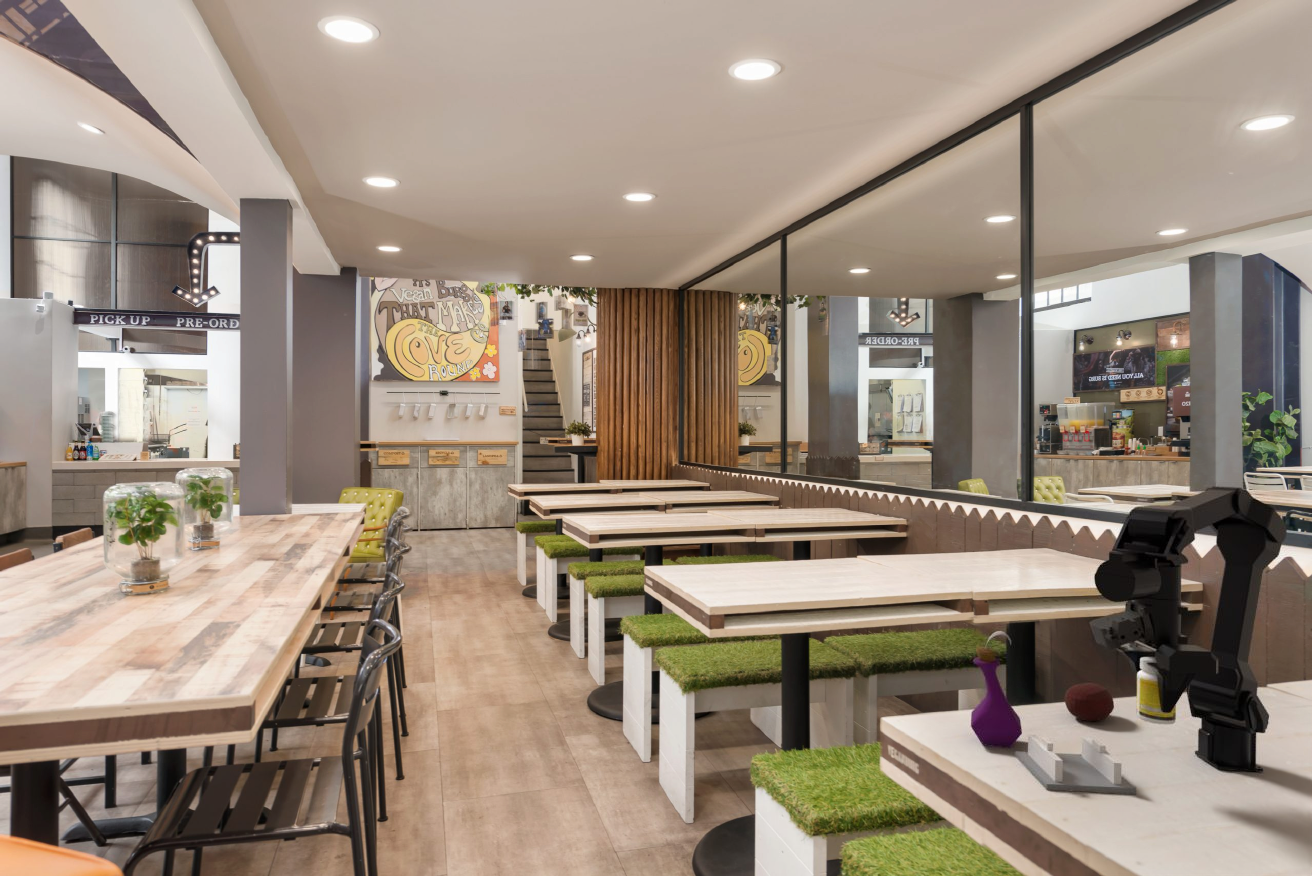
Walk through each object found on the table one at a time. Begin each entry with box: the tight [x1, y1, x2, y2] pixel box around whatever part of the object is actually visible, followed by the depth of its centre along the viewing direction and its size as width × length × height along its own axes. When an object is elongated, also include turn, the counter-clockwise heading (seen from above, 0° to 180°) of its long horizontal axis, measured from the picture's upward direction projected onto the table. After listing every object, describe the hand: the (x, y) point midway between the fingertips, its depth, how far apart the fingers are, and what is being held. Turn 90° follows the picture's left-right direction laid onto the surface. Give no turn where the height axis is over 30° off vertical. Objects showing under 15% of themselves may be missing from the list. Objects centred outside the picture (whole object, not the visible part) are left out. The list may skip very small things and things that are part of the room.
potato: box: [1064, 682, 1115, 722], centre depth 144 cm, size 7×10×6 cm
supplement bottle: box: [1136, 657, 1177, 725], centre depth 115 cm, size 5×5×8 cm
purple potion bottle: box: [970, 630, 1023, 749], centre depth 131 cm, size 8×8×18 cm
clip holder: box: [1015, 734, 1137, 795], centre depth 119 cm, size 12×12×5 cm
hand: (1155, 706), depth 115 cm, fingers closed on supplement bottle, 5 cm apart
